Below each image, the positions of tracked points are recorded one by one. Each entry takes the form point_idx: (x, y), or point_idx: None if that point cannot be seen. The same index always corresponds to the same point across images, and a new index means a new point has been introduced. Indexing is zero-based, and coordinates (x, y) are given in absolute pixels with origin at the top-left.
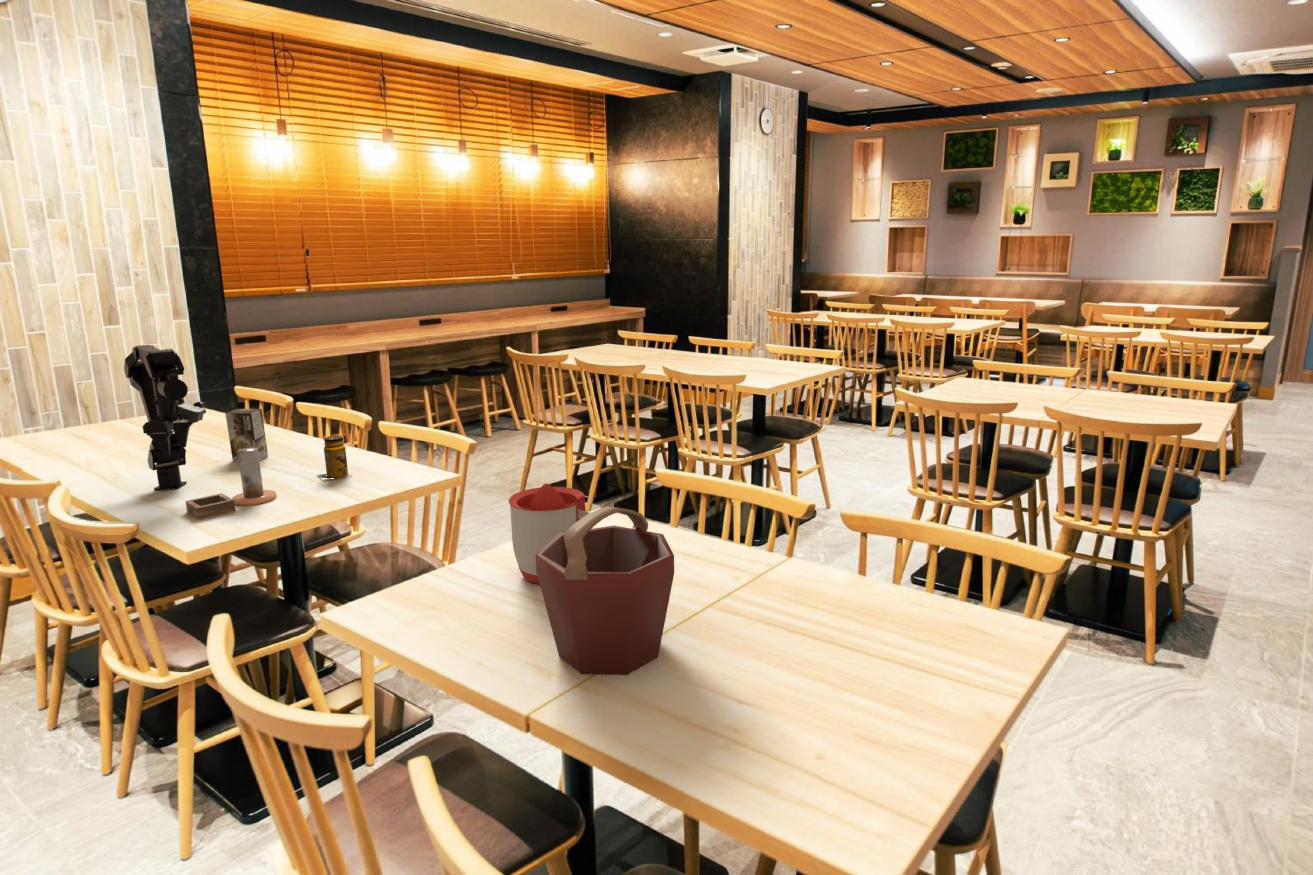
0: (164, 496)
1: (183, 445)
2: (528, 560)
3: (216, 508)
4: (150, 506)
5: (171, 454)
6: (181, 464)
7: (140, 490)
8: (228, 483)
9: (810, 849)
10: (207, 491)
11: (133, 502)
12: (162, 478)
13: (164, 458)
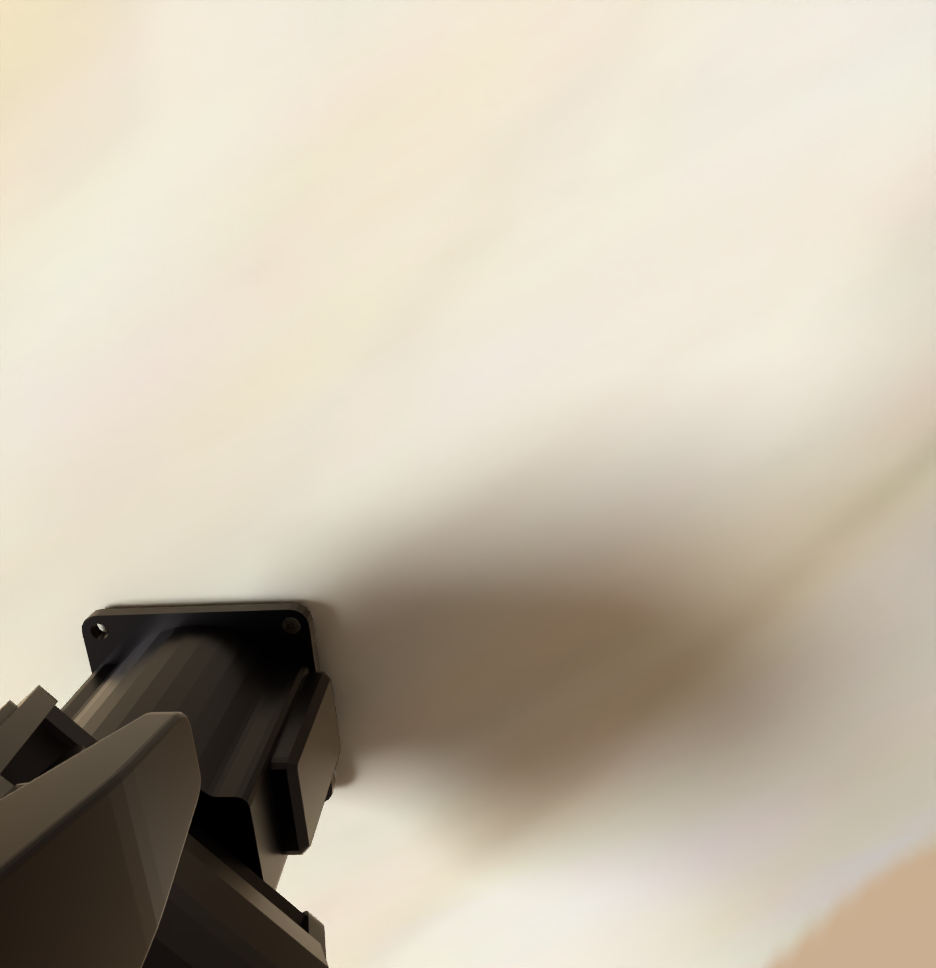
0: (531, 608)
1: (171, 774)
2: None
3: None
4: (865, 577)
5: (170, 895)
6: (70, 723)
7: (327, 890)
8: (50, 135)
9: None
10: (376, 235)
11: (694, 782)
12: (314, 780)
13: (262, 926)
